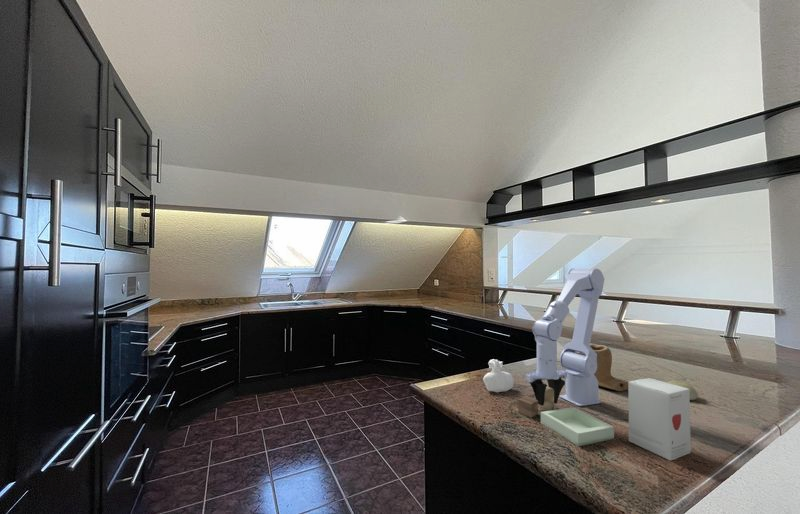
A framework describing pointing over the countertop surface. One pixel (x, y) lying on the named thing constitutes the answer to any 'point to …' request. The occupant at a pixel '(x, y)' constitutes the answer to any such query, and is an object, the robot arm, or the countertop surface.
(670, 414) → the supplement box
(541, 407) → the beech cylinder
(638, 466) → the countertop surface
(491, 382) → the bust
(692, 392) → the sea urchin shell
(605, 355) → the brown boot
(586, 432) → the tray
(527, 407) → the walnut cube
